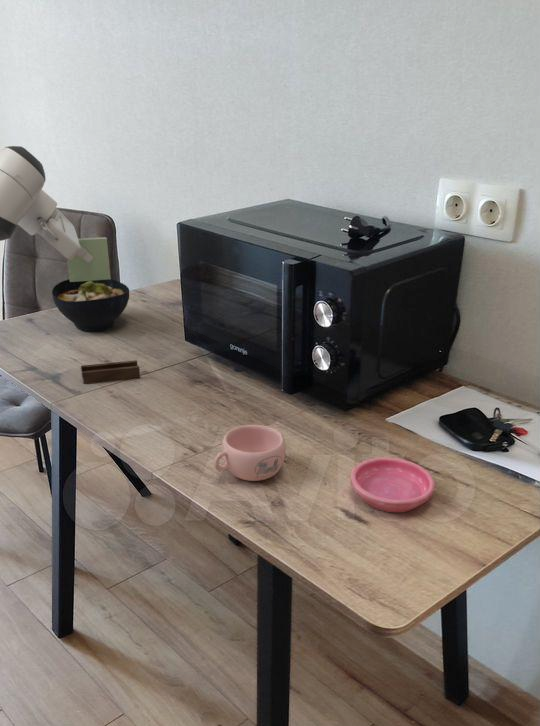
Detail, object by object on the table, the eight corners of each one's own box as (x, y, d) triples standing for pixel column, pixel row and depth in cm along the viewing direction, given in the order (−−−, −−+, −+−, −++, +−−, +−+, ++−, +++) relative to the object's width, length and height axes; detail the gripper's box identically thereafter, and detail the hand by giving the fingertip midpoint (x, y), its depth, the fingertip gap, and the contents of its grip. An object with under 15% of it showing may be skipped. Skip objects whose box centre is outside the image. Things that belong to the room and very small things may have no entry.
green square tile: (69, 282, 156) (64, 240, 151) (69, 280, 157) (64, 239, 152) (110, 279, 159) (106, 238, 154) (110, 277, 160) (106, 237, 155)
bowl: (74, 344, 154) (68, 300, 148) (45, 321, 165) (39, 279, 160) (144, 329, 162) (141, 287, 157) (112, 308, 174) (108, 268, 168)
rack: (83, 384, 137) (82, 372, 136) (82, 376, 140) (80, 365, 139) (140, 378, 140) (139, 367, 139) (137, 371, 143) (136, 360, 141)
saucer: (449, 505, 105) (452, 487, 103) (382, 528, 99) (385, 510, 98) (397, 466, 114) (399, 449, 112) (333, 485, 108) (334, 468, 107)
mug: (263, 449, 117) (264, 417, 114) (297, 477, 110) (298, 444, 107) (199, 468, 112) (198, 435, 109) (230, 498, 105) (230, 464, 102)
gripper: (49, 212, 139) (104, 259, 147) (45, 192, 155) (95, 236, 163) (29, 237, 140) (85, 282, 148) (27, 214, 156) (77, 256, 164)
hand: (90, 258), depth 155 cm, fingers closed on green square tile, 1 cm apart
